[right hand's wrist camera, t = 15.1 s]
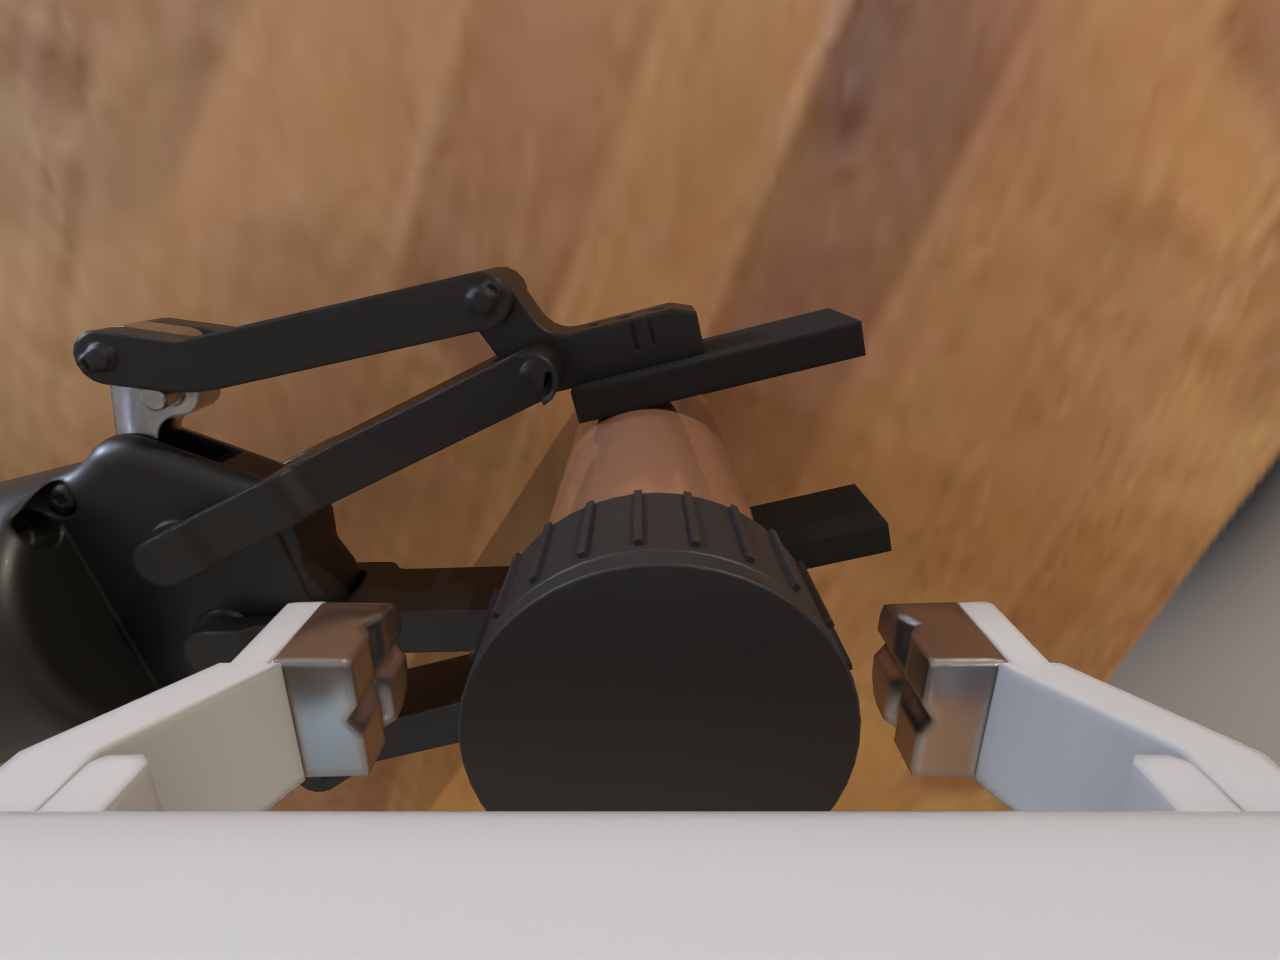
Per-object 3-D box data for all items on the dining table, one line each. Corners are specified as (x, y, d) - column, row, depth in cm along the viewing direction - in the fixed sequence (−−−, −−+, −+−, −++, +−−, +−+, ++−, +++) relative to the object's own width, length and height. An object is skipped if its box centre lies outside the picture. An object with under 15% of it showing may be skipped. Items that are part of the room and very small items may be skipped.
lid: (419, 613, 10) (362, 712, 8) (693, 414, 9) (708, 468, 7) (625, 817, 11) (621, 948, 9) (882, 666, 10) (943, 774, 8)
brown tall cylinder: (650, 325, 22) (674, 498, 8) (729, 416, 24) (881, 717, 9) (560, 406, 23) (431, 696, 9) (640, 490, 24) (644, 873, 10)
